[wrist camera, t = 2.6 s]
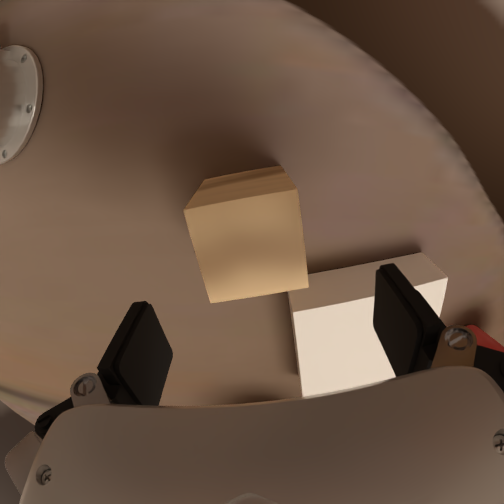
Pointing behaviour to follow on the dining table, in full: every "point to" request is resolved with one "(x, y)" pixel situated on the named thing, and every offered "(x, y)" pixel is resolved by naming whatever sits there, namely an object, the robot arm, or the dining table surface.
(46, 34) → the dining table surface
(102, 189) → the dining table surface
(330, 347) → the plinth
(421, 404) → the robot arm
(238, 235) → the oak block
